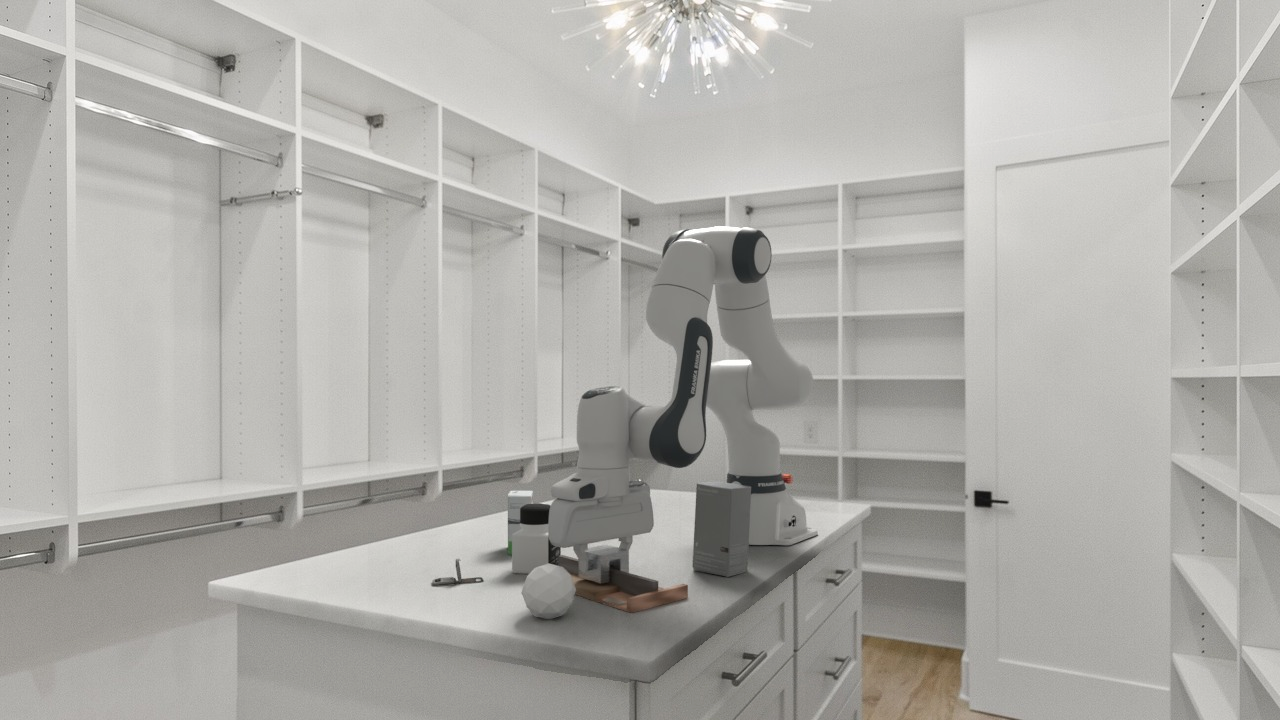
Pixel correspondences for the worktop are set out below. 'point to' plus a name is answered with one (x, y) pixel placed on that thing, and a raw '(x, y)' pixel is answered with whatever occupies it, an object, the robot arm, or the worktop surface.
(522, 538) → the medicine bottle
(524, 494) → the ink box
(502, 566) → the worktop surface
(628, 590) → the board
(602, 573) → the grey square block
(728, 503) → the skincare box
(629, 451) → the robot arm
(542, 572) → the geometric ball
